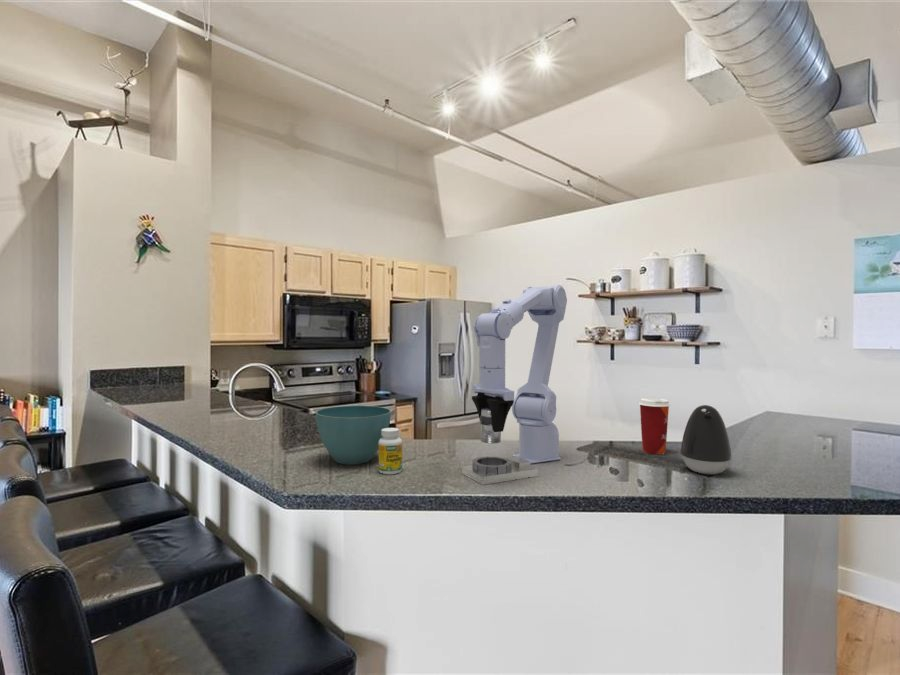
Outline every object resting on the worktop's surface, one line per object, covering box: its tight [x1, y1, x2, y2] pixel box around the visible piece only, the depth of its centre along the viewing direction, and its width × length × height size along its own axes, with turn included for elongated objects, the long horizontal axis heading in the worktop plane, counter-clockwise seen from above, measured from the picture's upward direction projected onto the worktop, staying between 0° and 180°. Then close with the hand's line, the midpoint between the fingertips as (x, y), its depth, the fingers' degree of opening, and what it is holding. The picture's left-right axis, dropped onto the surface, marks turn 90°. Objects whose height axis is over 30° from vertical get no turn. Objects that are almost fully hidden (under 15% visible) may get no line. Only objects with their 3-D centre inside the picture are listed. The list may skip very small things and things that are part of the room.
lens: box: [479, 407, 502, 444], centre depth 107 cm, size 5×5×7 cm
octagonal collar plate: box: [461, 456, 539, 486], centre depth 108 cm, size 14×9×3 cm, turn 116°
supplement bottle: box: [378, 427, 403, 475], centre depth 110 cm, size 5×5×10 cm
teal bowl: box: [315, 405, 392, 465], centre depth 120 cm, size 18×18×12 cm
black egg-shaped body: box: [680, 404, 732, 476], centre depth 111 cm, size 10×10×15 cm
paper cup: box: [638, 397, 671, 455], centre depth 129 cm, size 8×8×14 cm
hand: (492, 429), depth 107 cm, fingers closed on lens, 5 cm apart
